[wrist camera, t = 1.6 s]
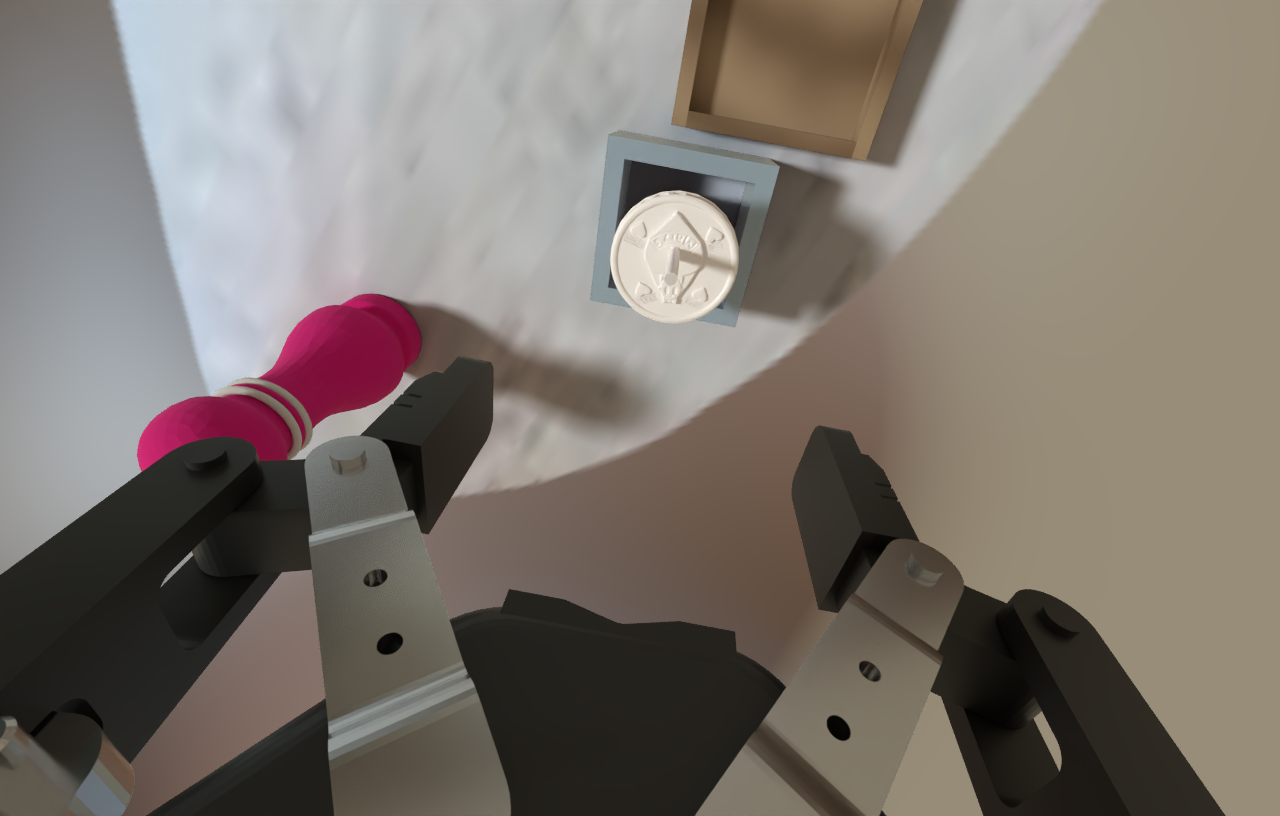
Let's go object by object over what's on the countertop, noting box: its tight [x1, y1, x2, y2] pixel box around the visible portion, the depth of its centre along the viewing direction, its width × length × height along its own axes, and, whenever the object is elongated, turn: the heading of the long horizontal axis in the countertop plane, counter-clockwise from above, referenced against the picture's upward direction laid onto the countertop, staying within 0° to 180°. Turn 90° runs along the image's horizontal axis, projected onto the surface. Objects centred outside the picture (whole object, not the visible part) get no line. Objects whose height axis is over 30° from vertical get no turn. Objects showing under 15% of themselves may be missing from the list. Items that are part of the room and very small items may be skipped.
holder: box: [590, 130, 780, 327], centre depth 31 cm, size 9×9×4 cm
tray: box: [671, 0, 923, 161], centre depth 26 cm, size 11×11×2 cm
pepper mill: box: [137, 294, 421, 471], centre depth 31 cm, size 7×7×20 cm
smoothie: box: [610, 190, 739, 323], centre depth 27 cm, size 6×6×14 cm
